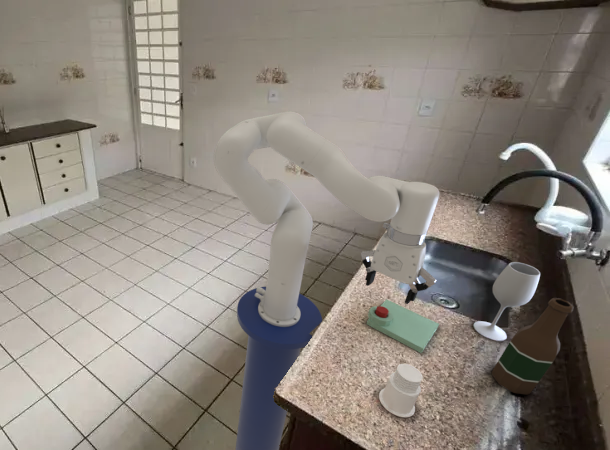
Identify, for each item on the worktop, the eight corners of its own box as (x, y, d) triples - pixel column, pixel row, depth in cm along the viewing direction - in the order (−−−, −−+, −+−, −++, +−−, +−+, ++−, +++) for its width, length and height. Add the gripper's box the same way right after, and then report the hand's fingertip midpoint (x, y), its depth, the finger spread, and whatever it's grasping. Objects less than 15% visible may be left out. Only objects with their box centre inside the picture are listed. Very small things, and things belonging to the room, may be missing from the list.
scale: (362, 322, 99) (365, 313, 98) (381, 301, 107) (384, 292, 105) (421, 353, 90) (425, 343, 88) (437, 328, 97) (441, 319, 96)
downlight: (403, 426, 73) (418, 395, 68) (371, 401, 78) (383, 370, 73) (421, 405, 77) (436, 374, 72) (389, 382, 82) (401, 352, 77)
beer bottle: (536, 402, 78) (596, 321, 66) (492, 386, 81) (542, 306, 70) (528, 376, 83) (582, 298, 72) (488, 362, 87) (533, 286, 76)
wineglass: (487, 342, 93) (523, 278, 83) (466, 321, 99) (496, 260, 90) (514, 341, 93) (554, 277, 83) (491, 320, 100) (525, 259, 90)
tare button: (373, 314, 98) (374, 309, 97) (377, 309, 100) (379, 304, 99) (384, 319, 96) (386, 315, 95) (388, 314, 98) (390, 309, 97)
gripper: (362, 226, 86) (348, 282, 94) (442, 255, 74) (419, 316, 82) (376, 217, 90) (362, 271, 98) (454, 243, 78) (431, 302, 86)
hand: (388, 292), depth 90 cm, fingers open, 9 cm apart
